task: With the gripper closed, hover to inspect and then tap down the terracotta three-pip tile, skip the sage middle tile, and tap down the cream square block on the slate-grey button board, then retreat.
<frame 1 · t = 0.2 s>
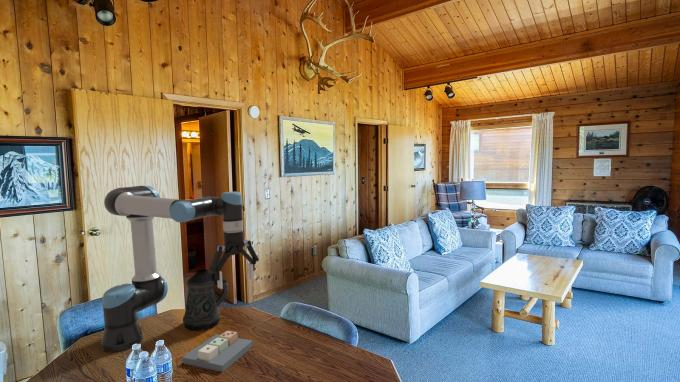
hand: (236, 283, 147), 26 cm above the table, fingers open, 13 cm apart
tile 2: (218, 345, 143), point 4 cm above the table, slide at 0.0 cm
beer stein: (205, 322, 172), on the table
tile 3: (228, 338, 148), point 4 cm above the table, slide at 0.0 cm
button board: (219, 354, 143), on the table
cream square block 1: (208, 352, 137), point 4 cm above the table, slide at 0.0 cm
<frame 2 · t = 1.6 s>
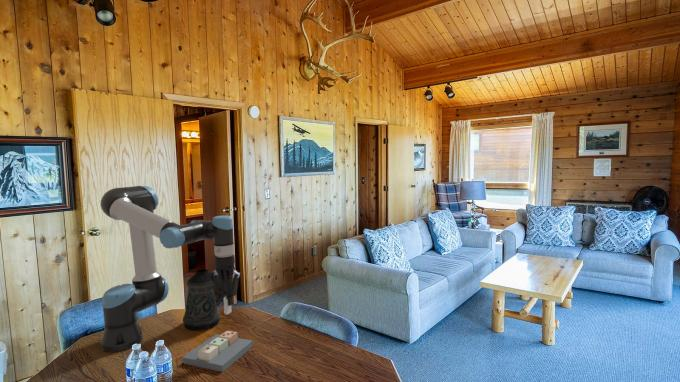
hand: (228, 312, 147), 14 cm above the table, fingers closed
nothing on the table moved.
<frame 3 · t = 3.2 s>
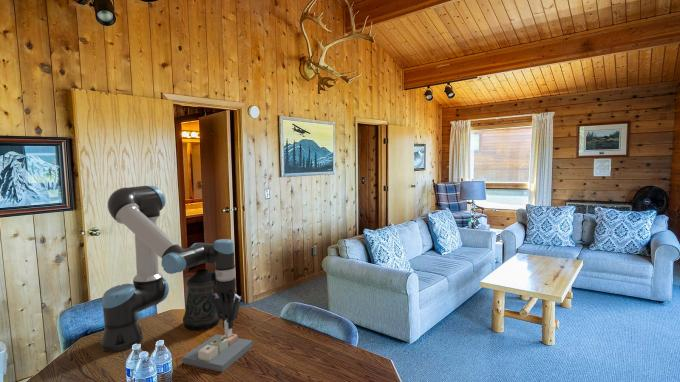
hand: (228, 335, 148), 5 cm above the table, fingers closed
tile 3: (228, 340, 148), point 3 cm above the table, slide at 1.1 cm, touching gripper
everything else where it was.
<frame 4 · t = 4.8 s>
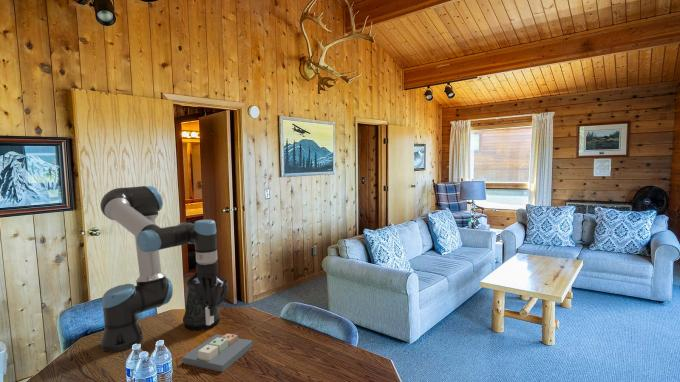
hand: (210, 323, 138), 14 cm above the table, fingers closed
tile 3: (228, 340, 148), point 3 cm above the table, slide at 1.2 cm
everything else where it was.
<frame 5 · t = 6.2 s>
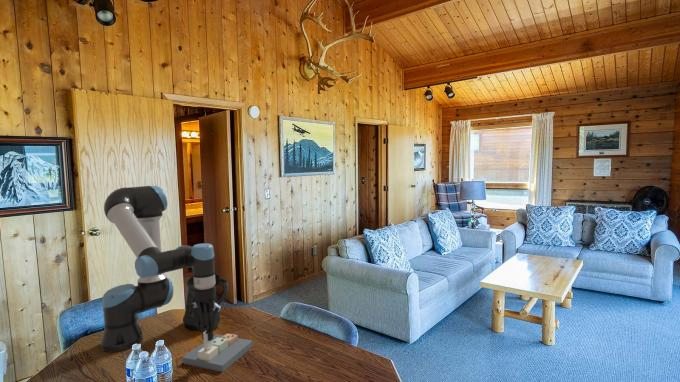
hand: (208, 348, 137), 6 cm above the table, fingers closed
cream square block 1: (208, 353, 137), point 4 cm above the table, slide at 0.2 cm, touching gripper
everything else where it was.
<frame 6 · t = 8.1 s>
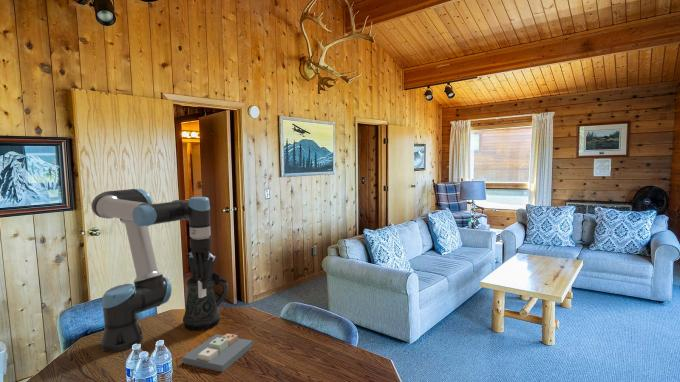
hand: (202, 296, 143), 22 cm above the table, fingers closed
cream square block 1: (208, 356, 137), point 3 cm above the table, slide at 1.2 cm
everything else where it was.
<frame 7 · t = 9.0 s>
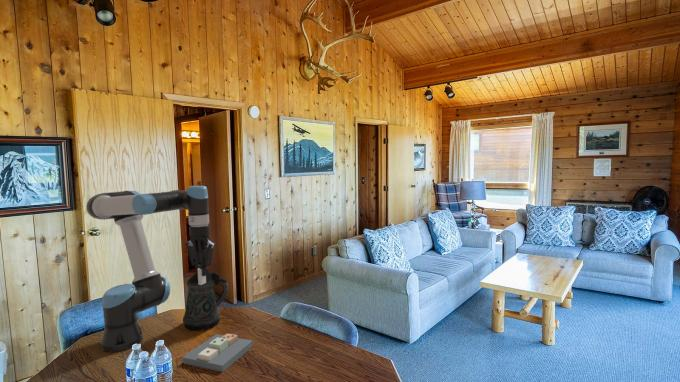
hand: (202, 283, 147), 26 cm above the table, fingers closed
nothing on the table moved.
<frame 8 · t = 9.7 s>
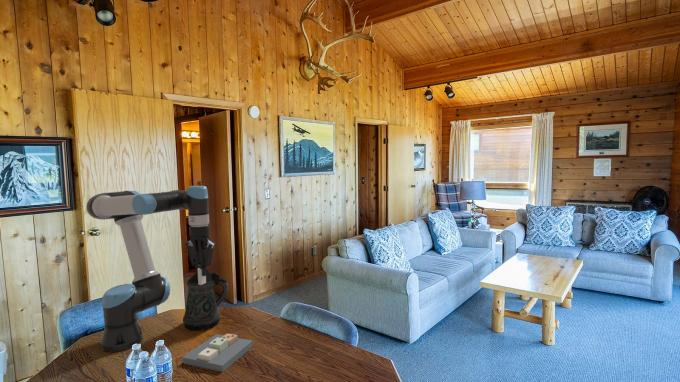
hand: (202, 283, 147), 26 cm above the table, fingers closed
nothing on the table moved.
at the end: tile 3 slide at 1.2 cm; cream square block 1 slide at 1.2 cm; tile 2 slide at 0.0 cm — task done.
